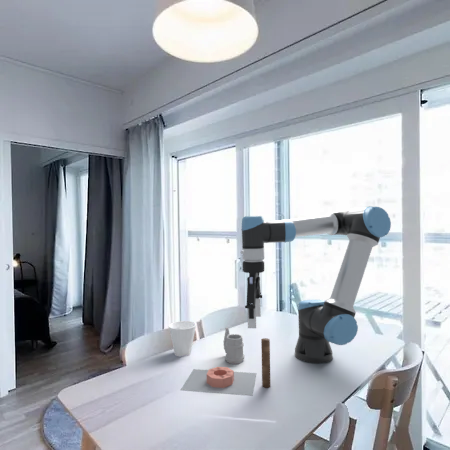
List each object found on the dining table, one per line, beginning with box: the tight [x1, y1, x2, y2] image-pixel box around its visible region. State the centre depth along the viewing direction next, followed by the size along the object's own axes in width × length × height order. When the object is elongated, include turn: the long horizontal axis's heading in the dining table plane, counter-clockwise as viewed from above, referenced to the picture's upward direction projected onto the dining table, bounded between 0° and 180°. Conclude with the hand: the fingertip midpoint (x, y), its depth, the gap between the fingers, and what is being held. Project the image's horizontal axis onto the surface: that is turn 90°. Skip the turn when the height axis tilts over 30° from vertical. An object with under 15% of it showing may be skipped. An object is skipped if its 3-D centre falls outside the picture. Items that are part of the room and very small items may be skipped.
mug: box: [223, 326, 245, 365], centre depth 133 cm, size 8×12×12 cm, turn 31°
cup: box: [168, 320, 197, 358], centre depth 140 cm, size 12×12×12 cm
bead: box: [207, 366, 235, 388], centre depth 113 cm, size 9×9×3 cm
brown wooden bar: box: [260, 337, 271, 389], centre depth 110 cm, size 3×3×16 cm
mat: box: [180, 368, 257, 397], centre depth 113 cm, size 24×16×1 cm, turn 80°
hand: (254, 321), depth 112 cm, fingers open, 13 cm apart
